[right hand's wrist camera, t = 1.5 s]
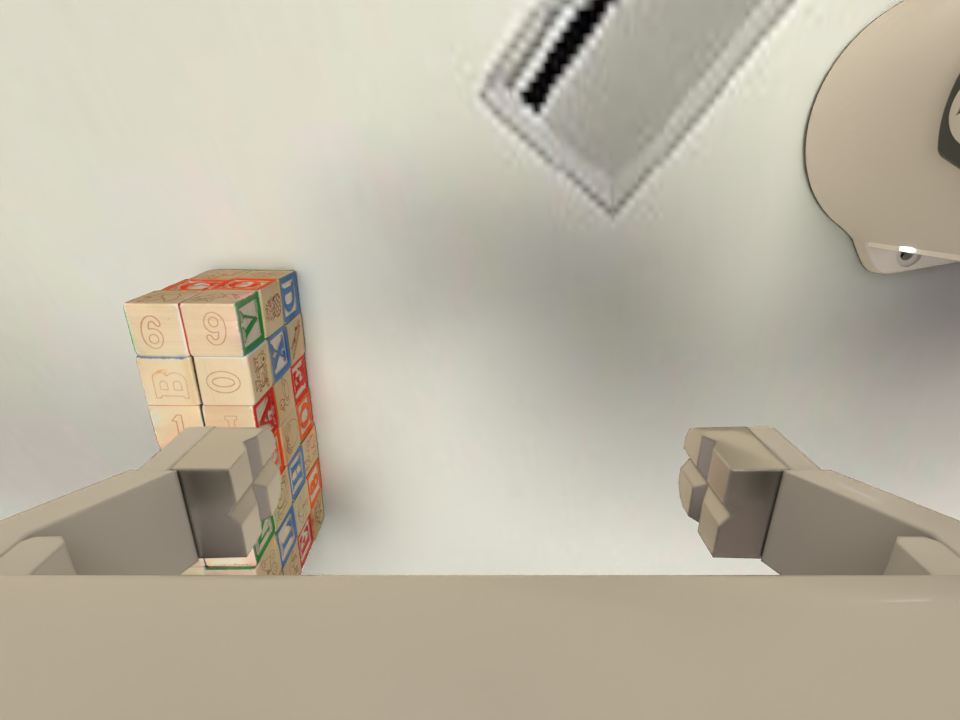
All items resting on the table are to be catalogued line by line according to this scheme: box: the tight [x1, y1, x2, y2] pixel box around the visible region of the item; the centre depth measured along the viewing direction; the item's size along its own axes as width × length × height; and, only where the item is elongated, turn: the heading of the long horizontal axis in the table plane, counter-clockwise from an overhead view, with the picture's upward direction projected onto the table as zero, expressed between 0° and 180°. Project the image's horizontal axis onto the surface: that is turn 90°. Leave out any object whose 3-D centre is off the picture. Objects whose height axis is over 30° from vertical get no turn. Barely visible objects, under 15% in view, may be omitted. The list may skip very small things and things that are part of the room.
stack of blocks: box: [123, 270, 324, 575], centre depth 34 cm, size 21×6×12 cm, turn 179°
